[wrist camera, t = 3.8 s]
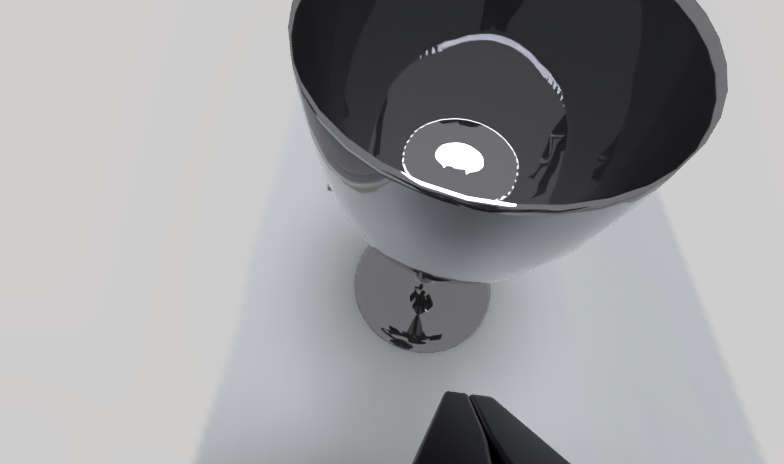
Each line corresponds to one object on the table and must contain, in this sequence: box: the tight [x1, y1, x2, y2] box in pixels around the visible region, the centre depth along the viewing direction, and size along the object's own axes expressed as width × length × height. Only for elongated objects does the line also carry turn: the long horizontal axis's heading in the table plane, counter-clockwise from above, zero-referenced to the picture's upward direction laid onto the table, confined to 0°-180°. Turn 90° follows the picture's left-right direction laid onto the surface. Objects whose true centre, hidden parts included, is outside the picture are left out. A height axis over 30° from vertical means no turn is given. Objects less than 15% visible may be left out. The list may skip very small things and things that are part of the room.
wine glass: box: [288, 0, 728, 353], centre depth 14 cm, size 8×8×15 cm
